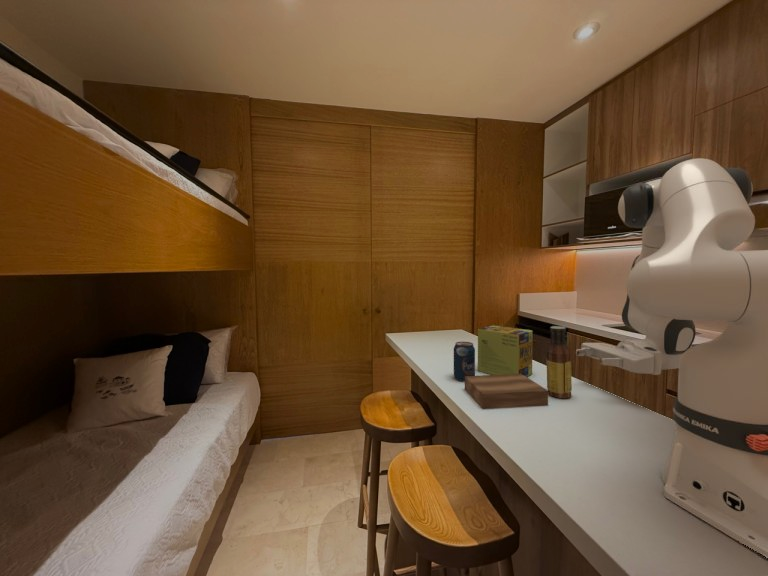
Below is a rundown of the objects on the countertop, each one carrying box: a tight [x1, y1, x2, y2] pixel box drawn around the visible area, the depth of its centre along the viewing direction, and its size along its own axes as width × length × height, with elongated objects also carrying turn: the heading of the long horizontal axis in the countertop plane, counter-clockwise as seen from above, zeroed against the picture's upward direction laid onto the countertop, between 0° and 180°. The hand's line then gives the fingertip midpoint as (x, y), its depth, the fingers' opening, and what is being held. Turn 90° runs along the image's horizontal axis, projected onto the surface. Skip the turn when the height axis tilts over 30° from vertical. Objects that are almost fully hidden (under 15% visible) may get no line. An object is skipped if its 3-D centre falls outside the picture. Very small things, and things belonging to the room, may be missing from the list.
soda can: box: [453, 341, 476, 383], centre depth 107 cm, size 7×7×12 cm
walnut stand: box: [464, 374, 549, 410], centre depth 92 cm, size 14×18×4 cm
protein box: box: [477, 325, 534, 378], centre depth 112 cm, size 10×15×16 cm
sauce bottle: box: [545, 325, 573, 399], centre depth 92 cm, size 7×6×20 cm
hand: (588, 356), depth 92 cm, fingers open, 8 cm apart
